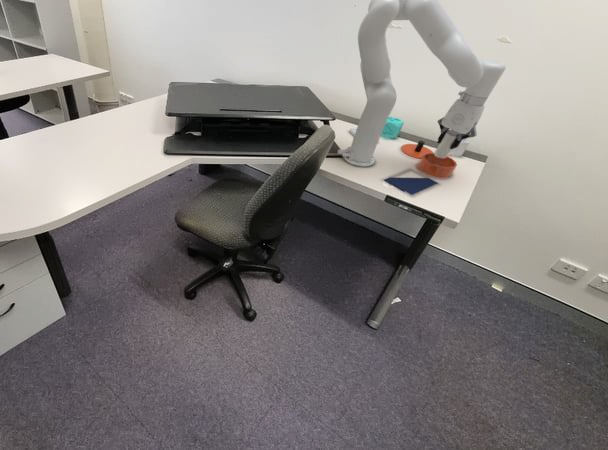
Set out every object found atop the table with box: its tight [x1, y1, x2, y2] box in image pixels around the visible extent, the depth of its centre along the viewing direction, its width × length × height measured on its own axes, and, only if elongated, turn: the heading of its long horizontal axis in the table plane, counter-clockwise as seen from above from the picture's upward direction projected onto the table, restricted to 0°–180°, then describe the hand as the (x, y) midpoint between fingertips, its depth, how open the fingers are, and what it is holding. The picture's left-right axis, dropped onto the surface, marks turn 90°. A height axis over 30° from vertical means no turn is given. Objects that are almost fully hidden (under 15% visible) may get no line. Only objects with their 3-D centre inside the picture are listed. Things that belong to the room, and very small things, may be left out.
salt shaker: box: [433, 129, 459, 159], centre depth 129 cm, size 5×5×10 cm
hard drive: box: [349, 128, 357, 137], centre depth 158 cm, size 2×8×12 cm
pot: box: [417, 152, 458, 179], centre depth 135 cm, size 12×12×5 cm
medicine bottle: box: [448, 132, 471, 157], centre depth 145 cm, size 7×7×12 cm
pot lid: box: [400, 140, 434, 160], centre depth 146 cm, size 13×13×6 cm
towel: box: [384, 176, 439, 196], centre depth 129 cm, size 17×12×1 cm
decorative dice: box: [380, 116, 404, 140], centre depth 158 cm, size 8×8×8 cm
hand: (446, 145), depth 129 cm, fingers closed on salt shaker, 4 cm apart
